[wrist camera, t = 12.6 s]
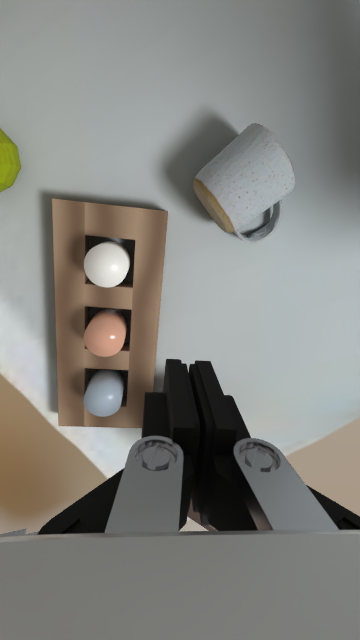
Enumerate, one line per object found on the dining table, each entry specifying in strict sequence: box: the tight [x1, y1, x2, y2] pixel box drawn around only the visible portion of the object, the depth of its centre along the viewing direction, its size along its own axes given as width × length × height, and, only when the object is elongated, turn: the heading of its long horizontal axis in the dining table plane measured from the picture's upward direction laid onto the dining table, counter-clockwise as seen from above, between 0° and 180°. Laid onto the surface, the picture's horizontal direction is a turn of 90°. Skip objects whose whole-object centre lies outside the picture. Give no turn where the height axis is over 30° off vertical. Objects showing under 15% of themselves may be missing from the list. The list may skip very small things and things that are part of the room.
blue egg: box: [84, 369, 124, 417], centre depth 38 cm, size 4×4×4 cm
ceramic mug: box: [192, 123, 295, 243], centre depth 32 cm, size 11×8×8 cm
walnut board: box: [52, 199, 168, 428], centre depth 37 cm, size 12×28×2 cm, turn 174°
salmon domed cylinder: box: [84, 309, 127, 357], centre depth 35 cm, size 4×4×4 cm
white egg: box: [84, 241, 130, 287], centre depth 33 cm, size 4×4×4 cm
